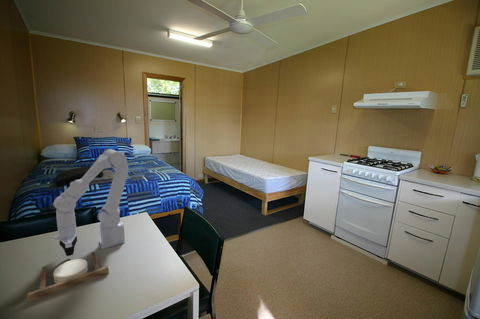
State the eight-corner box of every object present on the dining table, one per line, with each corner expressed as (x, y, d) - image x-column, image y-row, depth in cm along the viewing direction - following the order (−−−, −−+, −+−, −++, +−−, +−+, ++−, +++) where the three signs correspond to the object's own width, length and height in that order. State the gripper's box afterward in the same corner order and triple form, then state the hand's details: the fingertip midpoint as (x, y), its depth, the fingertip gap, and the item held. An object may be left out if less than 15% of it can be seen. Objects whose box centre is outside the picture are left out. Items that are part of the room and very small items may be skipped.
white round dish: (85, 262, 87) (84, 255, 86) (90, 276, 80) (89, 268, 79) (53, 274, 80) (52, 265, 79) (55, 290, 73) (54, 281, 72)
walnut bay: (103, 254, 92) (102, 249, 92) (108, 273, 81) (108, 267, 81) (32, 276, 78) (31, 270, 78) (28, 302, 67) (27, 295, 67)
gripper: (54, 220, 89) (57, 249, 91) (53, 235, 78) (57, 268, 81) (75, 215, 93) (78, 243, 96) (77, 230, 82) (80, 261, 85)
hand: (70, 254), depth 89 cm, fingers closed
